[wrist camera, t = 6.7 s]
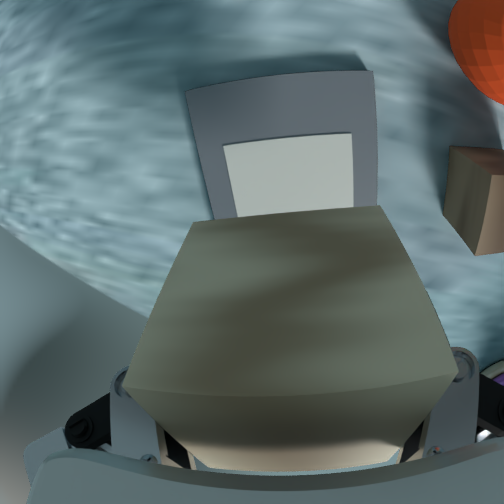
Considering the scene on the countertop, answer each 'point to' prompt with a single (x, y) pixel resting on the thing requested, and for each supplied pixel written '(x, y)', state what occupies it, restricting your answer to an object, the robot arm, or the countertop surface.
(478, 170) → the walnut cube
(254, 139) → the board
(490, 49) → the clementine
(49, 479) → the robot arm
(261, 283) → the maple cube
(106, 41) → the countertop surface
